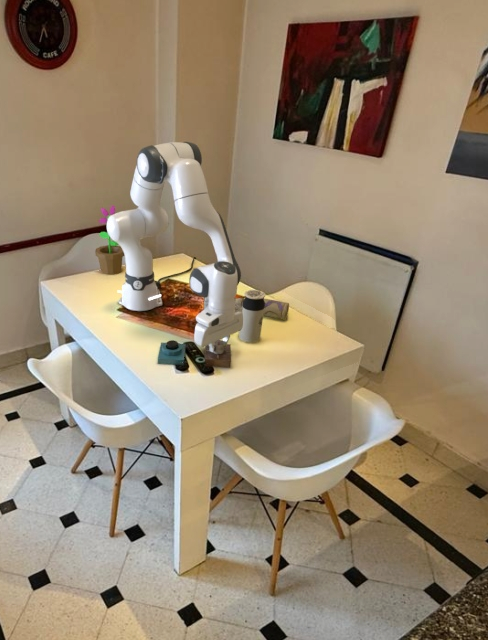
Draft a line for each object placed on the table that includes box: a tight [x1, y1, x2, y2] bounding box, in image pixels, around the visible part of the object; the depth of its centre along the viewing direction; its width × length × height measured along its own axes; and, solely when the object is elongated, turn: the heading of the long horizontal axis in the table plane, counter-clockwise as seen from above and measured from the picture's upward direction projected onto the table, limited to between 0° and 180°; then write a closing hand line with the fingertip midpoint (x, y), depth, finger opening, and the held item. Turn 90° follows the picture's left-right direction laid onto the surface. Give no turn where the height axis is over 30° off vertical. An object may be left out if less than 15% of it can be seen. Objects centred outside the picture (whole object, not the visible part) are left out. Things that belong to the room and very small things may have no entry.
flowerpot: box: [94, 204, 125, 275], centre depth 219 cm, size 14×14×30 cm
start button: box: [166, 339, 179, 350], centre depth 160 cm, size 4×4×2 cm
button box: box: [157, 341, 187, 366], centre depth 162 cm, size 11×9×4 cm
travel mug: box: [238, 289, 266, 344], centre depth 169 cm, size 8×8×18 cm
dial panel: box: [203, 343, 232, 369], centre depth 161 cm, size 11×9×3 cm
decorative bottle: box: [235, 297, 290, 320], centre depth 190 cm, size 26×8×7 cm, turn 64°
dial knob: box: [213, 339, 224, 354], centre depth 159 cm, size 4×4×4 cm
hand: (218, 348), depth 159 cm, fingers closed on dial knob, 4 cm apart
